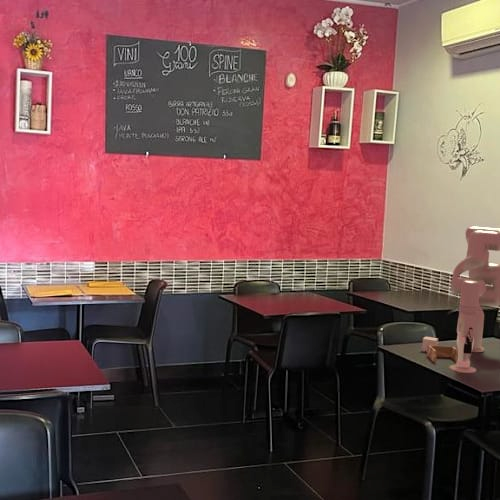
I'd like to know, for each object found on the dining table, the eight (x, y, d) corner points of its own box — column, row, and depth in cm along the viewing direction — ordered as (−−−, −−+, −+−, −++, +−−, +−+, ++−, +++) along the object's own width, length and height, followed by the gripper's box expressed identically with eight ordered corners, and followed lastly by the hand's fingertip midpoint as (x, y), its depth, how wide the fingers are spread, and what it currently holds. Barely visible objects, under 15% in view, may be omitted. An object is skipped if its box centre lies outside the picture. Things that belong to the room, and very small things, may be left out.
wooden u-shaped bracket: (427, 355, 313) (428, 345, 312) (452, 357, 313) (453, 346, 312) (434, 362, 301) (435, 351, 300) (460, 364, 301) (461, 352, 301)
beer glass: (472, 369, 288) (475, 334, 286) (455, 367, 289) (458, 332, 288) (470, 365, 295) (473, 330, 293) (453, 363, 296) (456, 329, 294)
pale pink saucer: (446, 365, 297) (446, 363, 297) (471, 366, 297) (471, 365, 297) (453, 372, 286) (453, 370, 286) (479, 373, 286) (480, 372, 286)
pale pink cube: (434, 353, 319) (435, 340, 318) (421, 351, 321) (422, 338, 321) (437, 350, 324) (438, 338, 324) (424, 348, 327) (425, 336, 326)
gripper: (453, 305, 298) (449, 345, 300) (466, 313, 281) (462, 355, 283) (470, 306, 298) (466, 346, 300) (484, 314, 281) (480, 357, 283)
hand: (464, 350), depth 291 cm, fingers closed on beer glass, 6 cm apart
